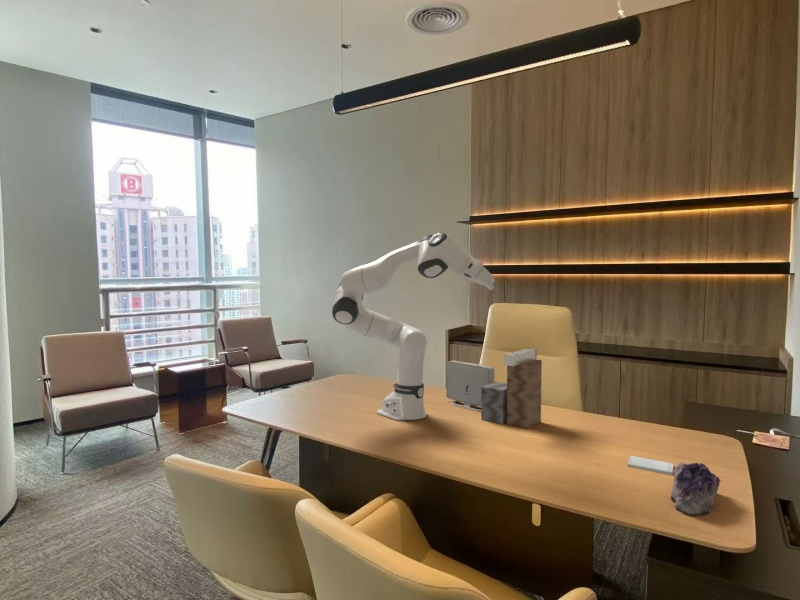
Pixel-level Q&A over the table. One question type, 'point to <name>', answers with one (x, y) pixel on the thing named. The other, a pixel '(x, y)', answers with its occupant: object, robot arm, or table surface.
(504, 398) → the two-tier stand
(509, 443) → the table surface
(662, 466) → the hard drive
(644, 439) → the table surface
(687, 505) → the geode
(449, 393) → the network device
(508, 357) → the grey rectangular bar
